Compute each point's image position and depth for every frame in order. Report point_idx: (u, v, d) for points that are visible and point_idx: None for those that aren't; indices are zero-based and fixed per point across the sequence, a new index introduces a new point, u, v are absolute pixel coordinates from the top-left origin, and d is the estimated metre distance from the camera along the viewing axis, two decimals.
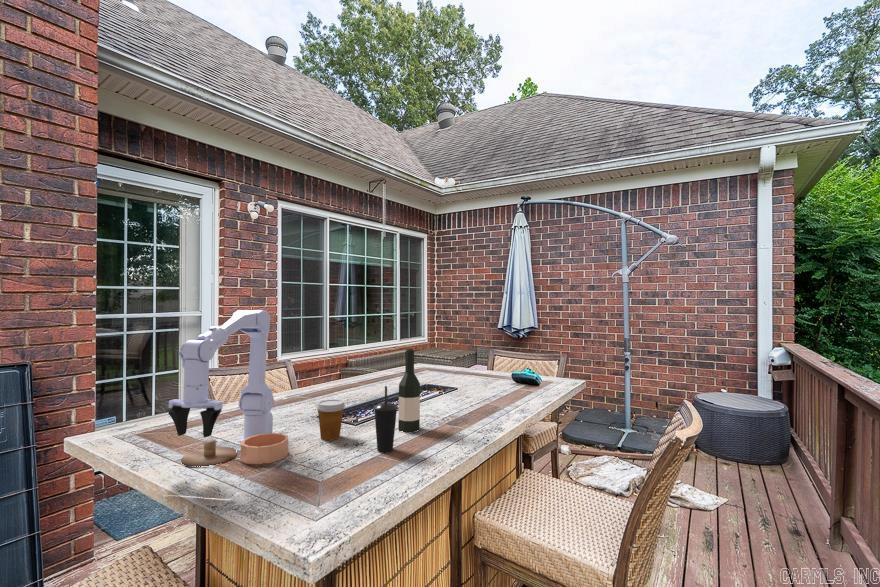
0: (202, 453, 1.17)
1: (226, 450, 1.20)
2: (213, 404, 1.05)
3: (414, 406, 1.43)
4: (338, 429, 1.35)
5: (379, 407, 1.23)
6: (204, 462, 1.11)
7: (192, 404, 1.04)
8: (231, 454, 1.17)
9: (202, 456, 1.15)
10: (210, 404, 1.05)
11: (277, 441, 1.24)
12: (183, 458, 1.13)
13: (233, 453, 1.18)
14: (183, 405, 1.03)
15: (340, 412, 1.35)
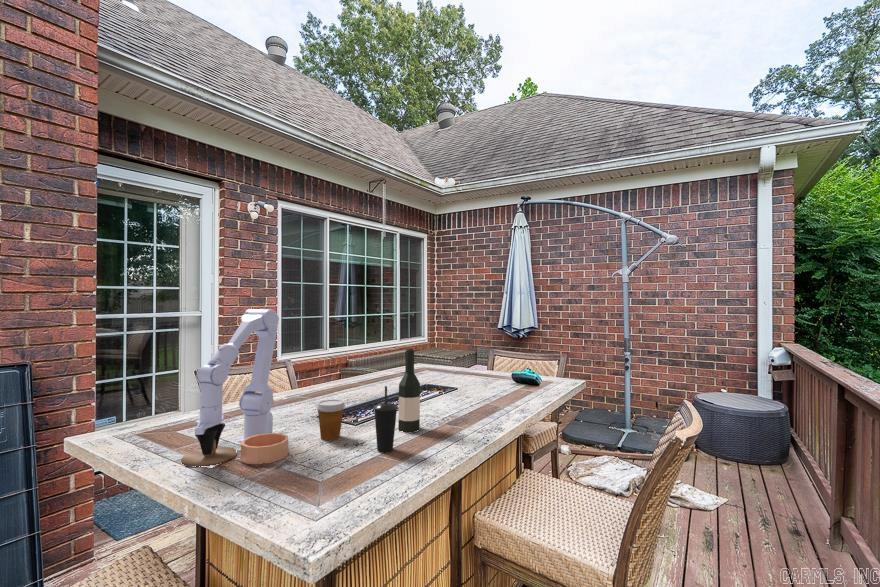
0: (202, 453, 1.17)
1: (226, 450, 1.20)
2: None
3: (414, 406, 1.43)
4: (338, 429, 1.35)
5: (379, 407, 1.23)
6: (204, 462, 1.11)
7: (198, 422, 1.15)
8: (231, 454, 1.17)
9: (202, 456, 1.15)
10: None
11: (277, 441, 1.24)
12: (183, 458, 1.13)
13: (233, 453, 1.18)
14: None
15: (340, 412, 1.35)
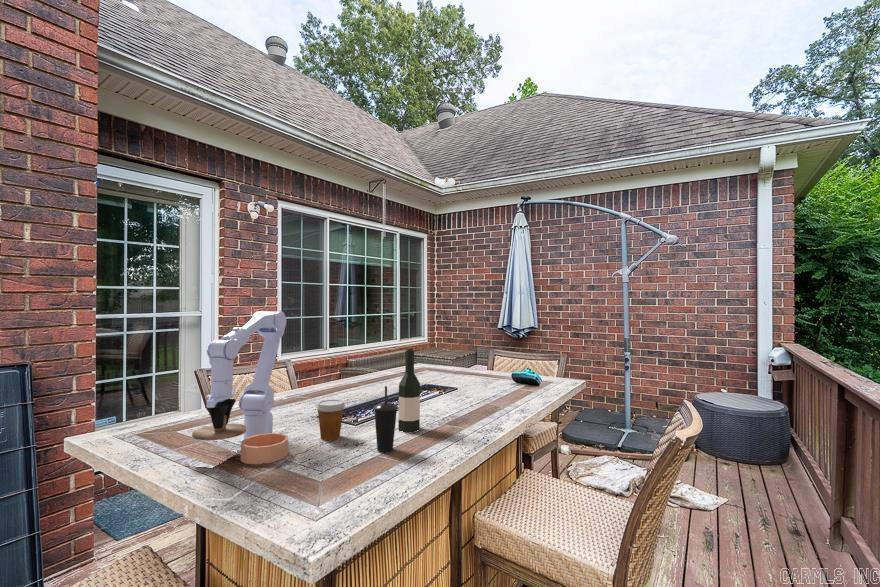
0: (212, 428, 1.18)
1: (236, 426, 1.21)
2: None
3: (414, 406, 1.43)
4: (338, 429, 1.35)
5: (379, 407, 1.23)
6: (215, 436, 1.11)
7: (209, 397, 1.16)
8: (241, 430, 1.17)
9: (212, 431, 1.16)
10: (208, 400, 1.12)
11: (277, 441, 1.24)
12: (194, 432, 1.14)
13: (243, 429, 1.18)
14: None
15: (340, 412, 1.35)
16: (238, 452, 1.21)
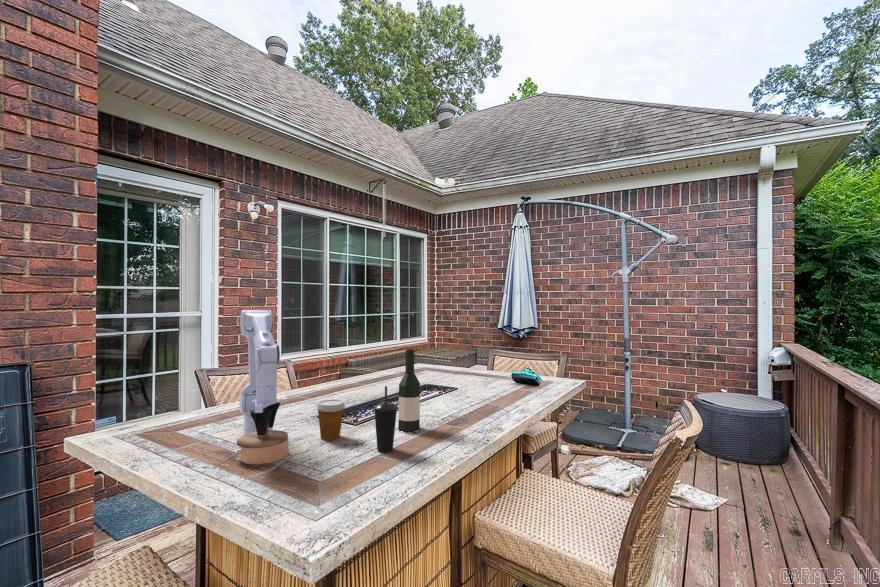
0: (255, 436, 1.19)
1: (277, 433, 1.22)
2: None
3: (414, 406, 1.43)
4: (338, 429, 1.35)
5: (379, 407, 1.23)
6: (260, 443, 1.13)
7: (255, 402, 1.17)
8: (284, 436, 1.19)
9: (256, 438, 1.17)
10: (255, 406, 1.13)
11: None
12: (238, 440, 1.15)
13: (285, 435, 1.20)
14: None
15: (340, 412, 1.35)
16: (238, 452, 1.21)
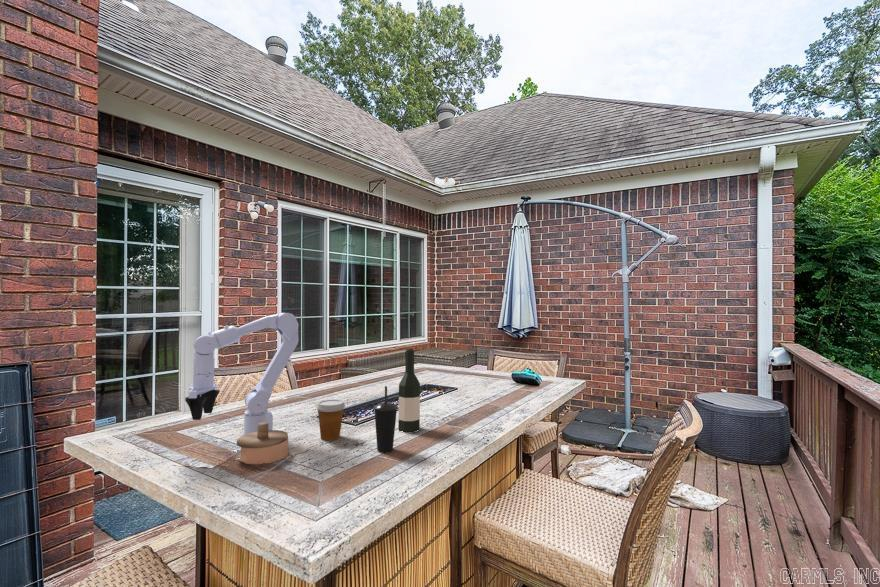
0: (255, 436, 1.19)
1: (277, 433, 1.22)
2: None
3: (414, 406, 1.43)
4: (338, 429, 1.35)
5: (379, 407, 1.23)
6: (260, 443, 1.13)
7: (192, 388, 1.24)
8: (284, 436, 1.19)
9: (256, 438, 1.17)
10: None
11: None
12: (238, 440, 1.15)
13: (285, 435, 1.20)
14: None
15: (340, 412, 1.35)
16: (238, 452, 1.21)
